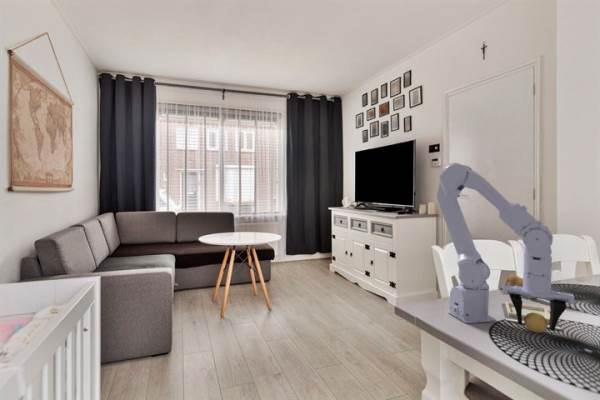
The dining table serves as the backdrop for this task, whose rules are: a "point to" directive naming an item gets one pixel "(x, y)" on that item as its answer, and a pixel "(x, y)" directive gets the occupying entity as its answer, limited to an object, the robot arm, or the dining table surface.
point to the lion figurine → (516, 283)
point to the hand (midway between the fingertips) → (535, 326)
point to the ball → (535, 322)
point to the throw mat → (525, 313)
